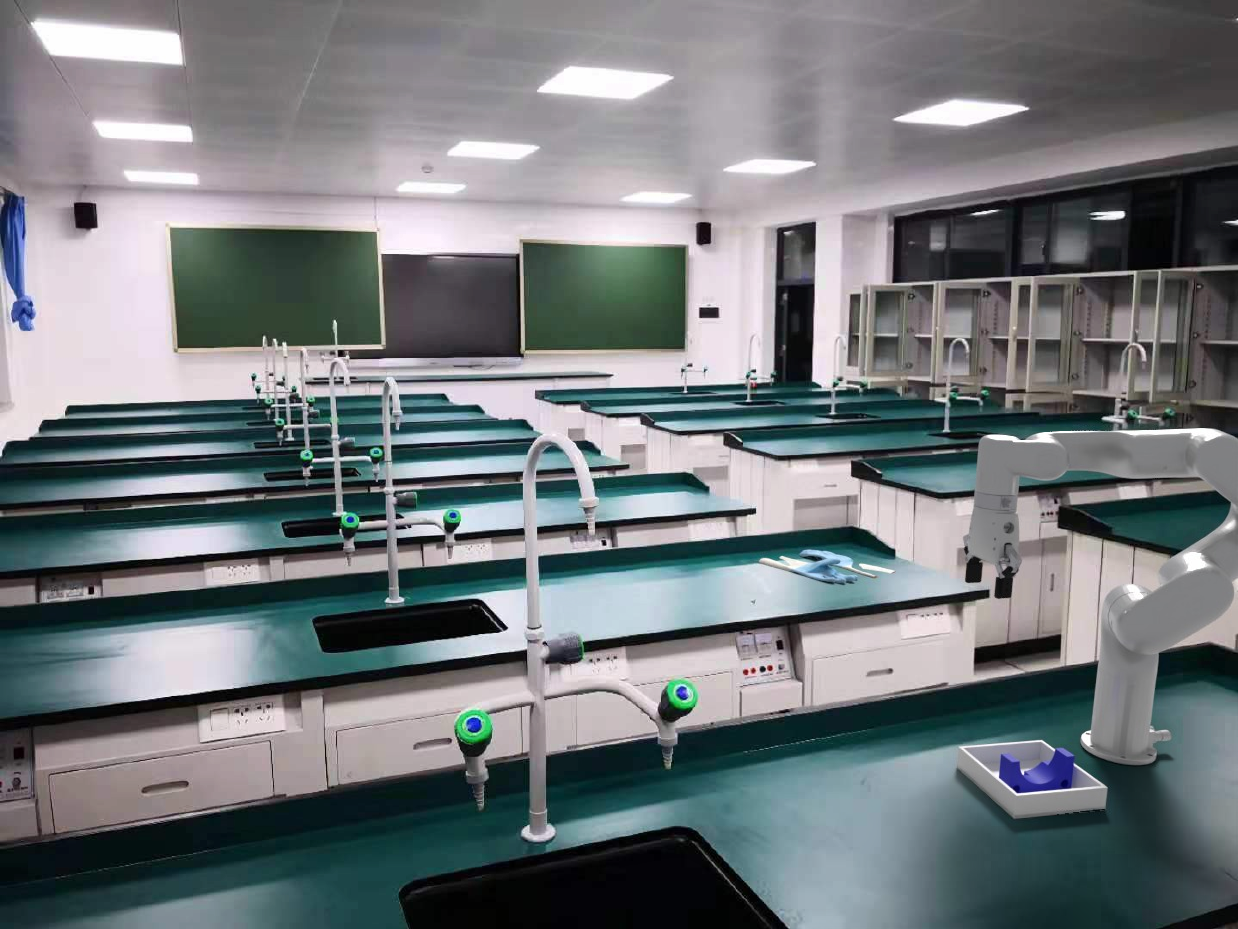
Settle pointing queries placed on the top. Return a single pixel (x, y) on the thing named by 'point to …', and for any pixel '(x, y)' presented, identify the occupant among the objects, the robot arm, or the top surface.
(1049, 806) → the tray
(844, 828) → the top surface
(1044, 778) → the cable clip
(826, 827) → the top surface
